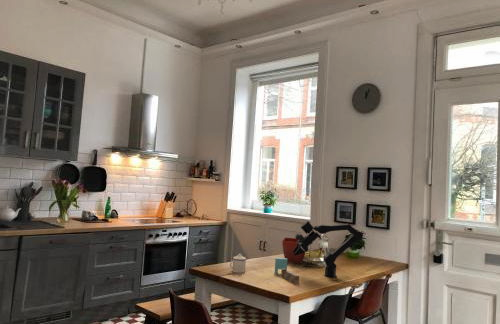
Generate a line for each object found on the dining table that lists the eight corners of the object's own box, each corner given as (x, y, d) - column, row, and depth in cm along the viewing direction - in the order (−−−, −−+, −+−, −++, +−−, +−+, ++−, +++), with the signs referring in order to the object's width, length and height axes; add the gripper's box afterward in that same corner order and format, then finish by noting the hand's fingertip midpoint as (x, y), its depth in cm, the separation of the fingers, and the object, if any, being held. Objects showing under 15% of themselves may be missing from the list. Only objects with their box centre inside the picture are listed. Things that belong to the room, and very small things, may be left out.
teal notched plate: (286, 273, 273) (287, 258, 274) (286, 274, 271) (287, 259, 271) (274, 272, 273) (275, 257, 274) (274, 273, 271) (275, 258, 271)
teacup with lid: (240, 269, 277) (241, 252, 277) (248, 272, 270) (249, 254, 270) (225, 270, 270) (226, 253, 270) (233, 273, 262) (234, 256, 263)
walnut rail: (281, 276, 263) (281, 268, 263) (284, 276, 264) (284, 268, 264) (295, 284, 245) (295, 276, 245) (298, 284, 245) (299, 276, 246)
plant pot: (305, 264, 306) (306, 242, 307) (280, 262, 310) (282, 240, 311) (307, 260, 325) (308, 239, 325) (283, 258, 329) (284, 237, 329)
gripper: (300, 228, 283) (284, 242, 283) (304, 231, 264) (286, 247, 264) (311, 239, 283) (295, 254, 282) (315, 244, 264) (298, 260, 264)
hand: (293, 253), depth 273 cm, fingers open, 9 cm apart
